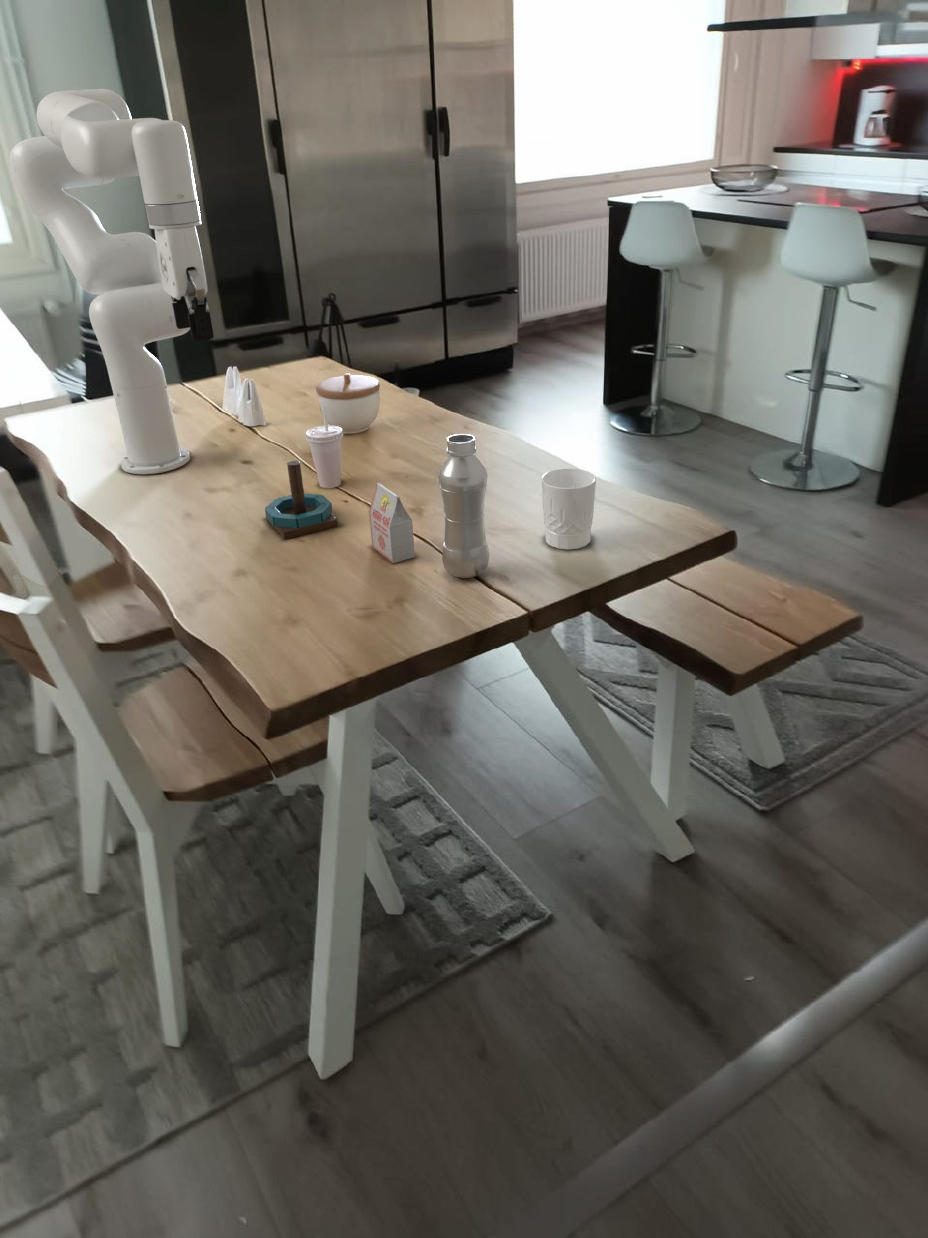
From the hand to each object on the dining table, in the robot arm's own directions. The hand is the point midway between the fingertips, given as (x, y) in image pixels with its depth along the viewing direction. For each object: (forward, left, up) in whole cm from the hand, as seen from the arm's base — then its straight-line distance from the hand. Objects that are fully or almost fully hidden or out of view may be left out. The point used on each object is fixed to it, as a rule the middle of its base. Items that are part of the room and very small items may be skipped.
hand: (195, 333), depth 148 cm
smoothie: (+3, +18, -28) cm, 34 cm away
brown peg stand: (+16, +8, -28) cm, 33 cm away
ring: (+15, +8, -27) cm, 32 cm away
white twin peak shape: (-41, +16, -28) cm, 52 cm away
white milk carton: (+34, +16, -28) cm, 47 cm away
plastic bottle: (+46, +22, -28) cm, 58 cm away
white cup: (+45, +40, -28) cm, 67 cm away
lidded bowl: (-23, +33, -28) cm, 49 cm away
